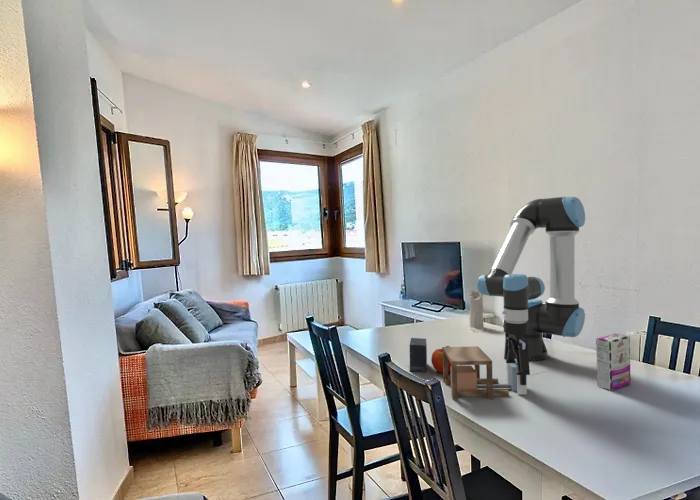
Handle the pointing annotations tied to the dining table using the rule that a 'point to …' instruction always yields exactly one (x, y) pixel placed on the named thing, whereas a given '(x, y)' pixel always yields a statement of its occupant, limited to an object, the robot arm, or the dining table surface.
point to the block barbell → (469, 382)
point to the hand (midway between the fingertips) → (516, 388)
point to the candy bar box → (613, 361)
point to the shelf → (475, 358)
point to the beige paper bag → (476, 311)
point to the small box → (418, 354)
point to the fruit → (439, 360)
